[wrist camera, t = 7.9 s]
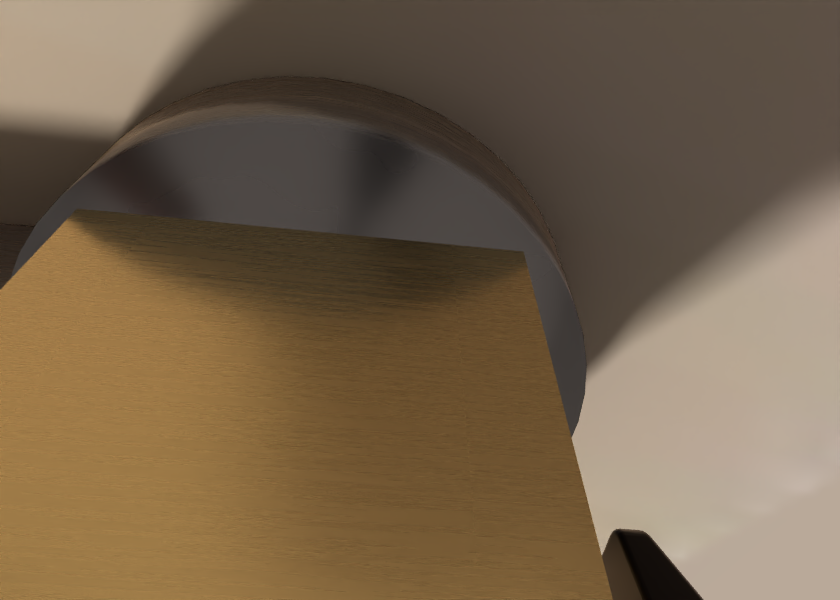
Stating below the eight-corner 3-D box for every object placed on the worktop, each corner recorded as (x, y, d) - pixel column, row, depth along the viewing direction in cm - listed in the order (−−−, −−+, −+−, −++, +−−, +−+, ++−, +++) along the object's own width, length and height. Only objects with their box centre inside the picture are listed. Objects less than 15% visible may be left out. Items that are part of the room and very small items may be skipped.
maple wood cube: (77, 208, 9) (-346, 654, 4) (523, 251, 9) (640, 709, 4) (132, 508, 12) (-63, 958, 7) (461, 532, 13) (488, 975, 8)
